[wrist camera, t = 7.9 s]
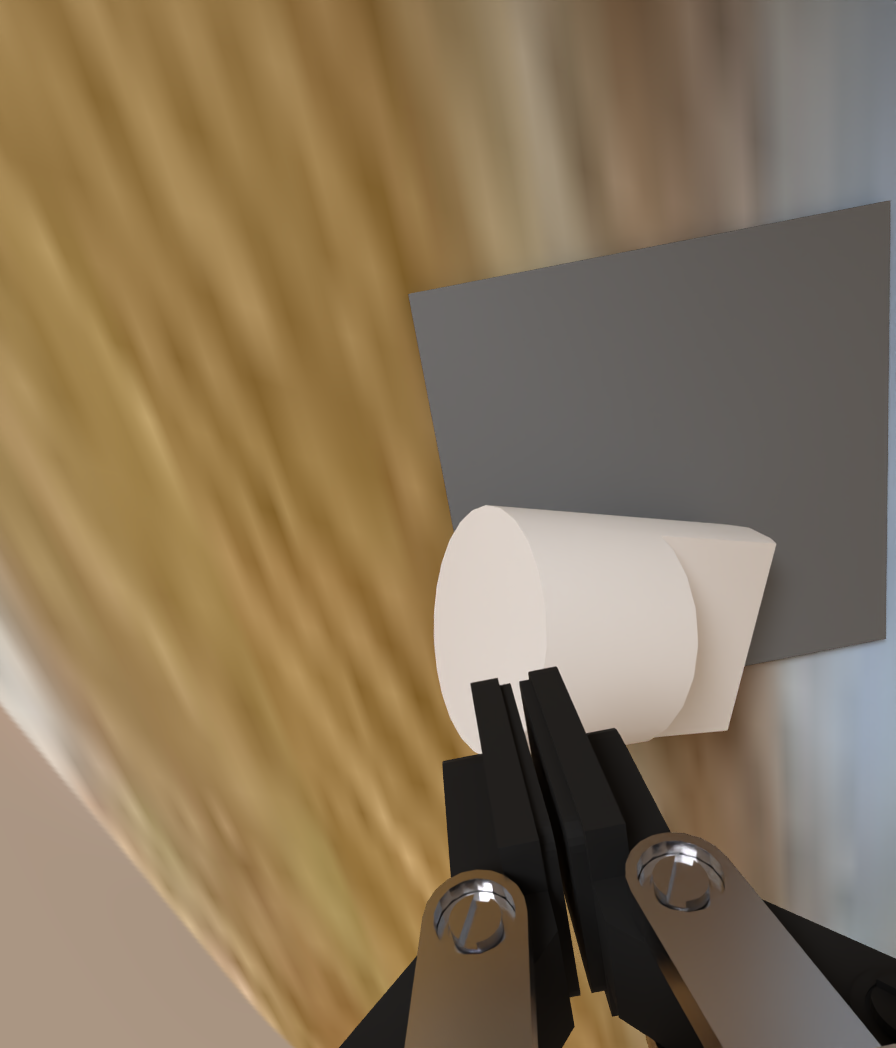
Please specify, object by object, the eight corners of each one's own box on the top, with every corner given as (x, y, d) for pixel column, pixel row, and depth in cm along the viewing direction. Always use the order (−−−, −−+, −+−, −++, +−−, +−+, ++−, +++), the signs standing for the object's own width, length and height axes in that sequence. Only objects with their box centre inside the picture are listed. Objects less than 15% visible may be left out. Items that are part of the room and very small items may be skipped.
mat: (408, 295, 26) (408, 294, 26) (879, 203, 26) (890, 200, 26) (487, 708, 32) (489, 715, 31) (877, 633, 32) (885, 638, 31)
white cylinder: (422, 683, 28) (637, 673, 33) (516, 816, 20) (784, 778, 25) (452, 484, 26) (675, 505, 31) (570, 542, 18) (847, 558, 23)
